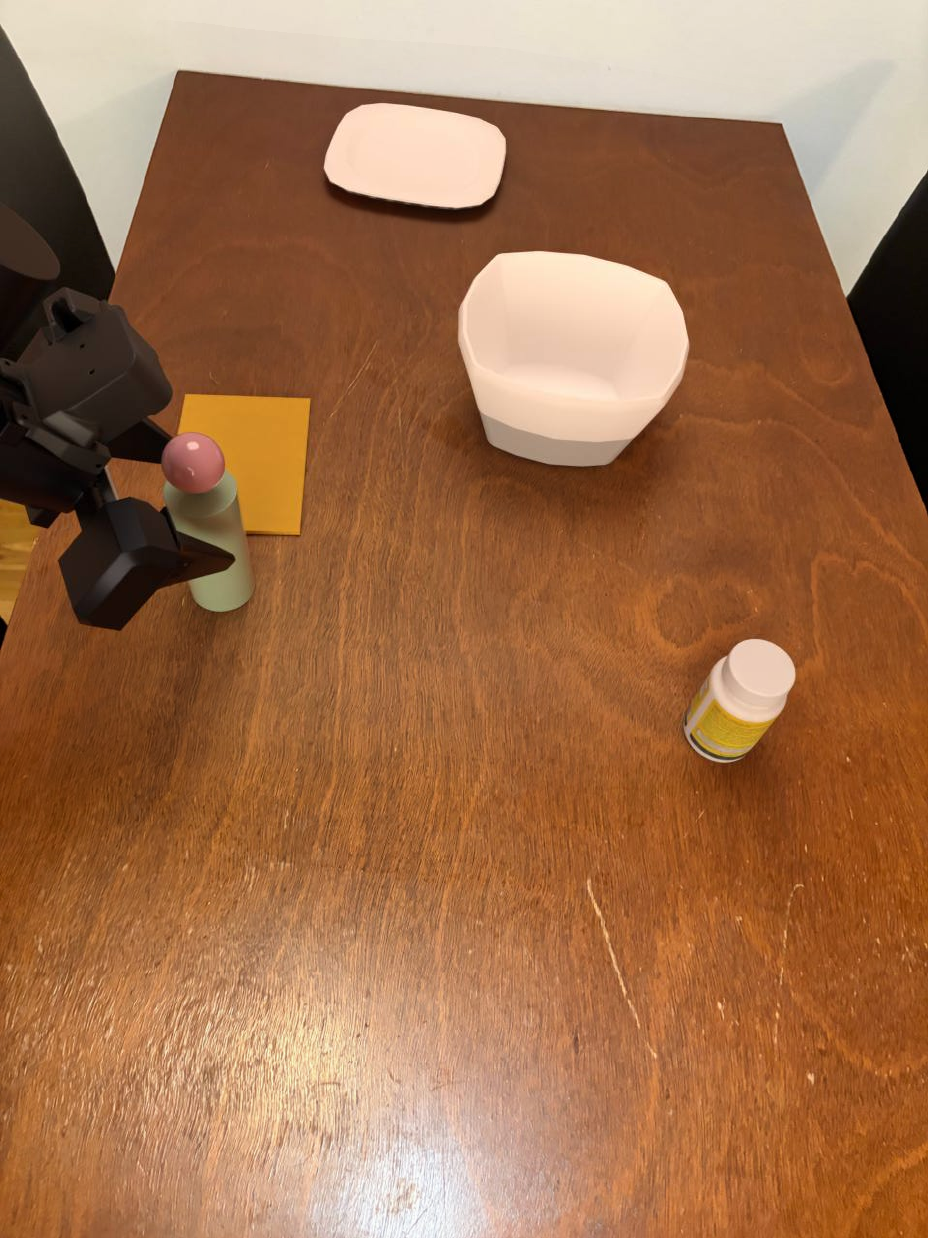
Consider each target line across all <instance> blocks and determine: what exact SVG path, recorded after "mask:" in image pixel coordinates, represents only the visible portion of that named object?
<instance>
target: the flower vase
mask: <svg viewBox="0 0 928 1238" xmlns="http://www.w3.org/2000/svg"><path fill="white" fill-rule="evenodd" d="M160 465H161V466H160V467H161V470H162V473H163V476H164V477H165V479H166V481H165V483H164V484H163V487H162V498H163V502H164V503H165V506H166V507H167V508H168V510H169V512H170V515H171V517H172V520H173V522H174V525H175V527H176V530H177V531H179V532H182V533H185V534H187V535H190V536H192V537H195V538H197V539H200V540H202V541H205V542H208V543H210V544H213V545H215V546H218V547H220V548H222V549H224V550H226V551H228V552H230V553H232V554H233V555H234V556H235V559H236V561H235V562H234V563H233V564H232V565H231V566H230V567H229V569H227V570H226V571H222V572H219V573H215V574H211V575H208V576H204V577H200V578H196V579H193V580H189V581H187V584H188V586H189V590H190V593H191V597H192V598H193V600H194V601H195V603H196V604H198V605H199V606H200V607H201V608H203V609H206V610H207V611H211V612H217V613H223V612H230V611H233V610H236V609H238V608H240V607H242V606H243V605H244V604H246V603H247V602H249V600H250V599H251V598H252V597H253V594H254V592H255V590H256V578H255V573H254V568H253V563H252V557H251V552H250V546H249V541H248V536H247V535H248V534H246V530H245V525H244V520H243V514H242V509H241V504H240V498H239V493H238V488H237V483H236V480H235V479H234V477H233V476H232V475H231V474H230V473H229V472H228V471H227V470H226V469H225V465H226V464H225V457H224V454H223V452H222V450H221V448H220V446H219V445H218V444H217V443H216V442H215V441H214V440H213V439H212V438H210V437H208V436H207V435H204V434H202V433H197V432H186V433H182V434H179V435H178V434H177V435H175V436H174V437H173V439H171V440H170V441H169V442H168V444H167V445H166V446H165V448H164V450H163V453H162V458H161V464H160Z"/></svg>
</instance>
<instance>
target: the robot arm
mask: <svg viewBox="0 0 928 1238" xmlns="http://www.w3.org/2000/svg"><path fill="white" fill-rule="evenodd" d="M60 274H61V264H60V261H59V259H58V257H57V255H56V254H55V252H54V251H53V249H52V248H51V246H50V245H49V244H48V243H47V241H46V240H45V239H44V238H43V237H42V235H40V233H38V231H36V230H35V228H34V227H33V226H32V225H30V224H29V223H28V222H27V221H26V220H24V219H23V217H21V216H20V215H18V214H17V213H16V212H15V211H13V210H12V209H11V208H9V207H8V206H6V205H5V204H4V203H2V202H1V201H0V500H3V501H7V502H10V503H14V504H17V505H21V506H24V509H25V511H26V512H25V513H26V515H27V518H28V522H29V525H32V526H36V527H38V528H39V527H40V528H43V529H46V530H48V529H50V528H51V526H52V525H53V524H54V523H55V521H56V520H57V519H58V518H59V516H60V515H61V514H66V515H67V514H70V513H72V512H75V514H76V515H75V516H76V518H77V521H78V523H79V527H80V530H81V531H80V532H79V533H78V535H77V536H76V537H75V538H74V539H73V541H72V542H71V543H70V545H68V547H67V548H66V549H65V550H64V552H63V553H62V554H61V556H60V557H59V558H58V559H57V563H58V566H59V570H60V573H61V576H62V579H63V582H64V585H65V589H66V592H67V596H68V598H69V602H70V606H71V609H72V611H73V613H74V615H75V617H76V620H77V622H78V623H79V625H83V626H89V627H94V628H98V629H99V628H100V629H106V630H109V631H116V632H121V631H122V630H123V629H124V628H125V627H126V626H127V625H128V623H129V622H130V621H131V620H132V619H133V618H134V617H135V615H136V614H137V613H139V611H140V610H141V609H142V608H143V607H144V606H145V605H146V603H148V601H149V600H150V599H151V598H152V596H154V595H155V594H156V592H157V591H159V590H161V589H164V588H167V587H171V586H174V585H177V584H182V583H186V582H188V581H189V580H193V579H196V578H200V577H204V576H208V575H211V574H215V573H219V572H222V571H226V570H227V569H229V567H230V566H231V565H232V564H233V563H234V562H235V561H236V559H235V556H234V555H233V554H232V553H230V552H228V551H226V550H224V549H222V548H220V547H218V546H215V545H213V544H210V543H208V542H205V541H202V540H200V539H197V538H195V537H192V536H190V535H187V534H185V533H182V532H179V531H177V530H176V527H175V525H174V522H173V520H172V517H171V515H170V512H169V510H168V508H167V507H166V506H164V505H163V506H162V508H161V509H160V510H158V509H157V508H155V506H153V505H152V504H151V503H150V502H149V501H146V500H143V499H139V498H136V497H134V496H127V497H123V498H120V495H119V491H118V489H117V487H116V484H115V481H114V479H113V475H112V473H111V469H110V467H109V465H108V464H109V462H110V461H111V460H112V459H118V460H119V459H120V460H124V461H125V460H126V461H134V462H141V463H147V464H154V465H161V458H162V453H163V450H164V448H165V446H166V445H167V444H168V442H169V441H170V440H171V439H173V438H174V437H173V436H172V435H171V434H170V433H169V432H167V431H166V430H164V428H162V427H161V426H160V425H158V424H157V423H156V422H155V421H153V420H152V419H151V418H150V417H149V416H156V415H158V414H159V413H161V412H163V410H165V409H166V408H167V407H168V406H169V404H171V401H172V399H173V395H174V391H173V390H174V389H173V387H172V384H171V382H170V381H169V379H168V377H167V376H166V374H165V372H164V369H163V366H162V365H161V363H160V360H159V355H158V353H157V352H156V350H155V349H154V348H153V347H152V346H151V344H149V343H148V342H147V340H145V338H144V337H143V336H142V335H141V334H140V333H139V332H138V331H137V330H136V329H135V327H133V326H132V324H131V323H130V320H129V318H128V316H127V315H126V312H125V310H124V308H123V307H122V306H121V305H119V304H112V305H111V304H110V303H109V302H108V301H107V300H106V299H105V298H104V299H102V300H101V301H100V300H98V299H97V298H95V297H93V296H90V295H88V294H85V293H83V292H79V291H77V290H75V289H72V288H69V287H66V286H63V287H61V288H60V289H58V290H57V291H55V292H54V293H52V294H50V295H49V296H48V297H46V298H45V299H44V300H43V298H44V297H45V295H46V294H47V293H48V291H49V290H50V288H51V287H52V285H53V284H54V283H55V281H56V280H57V278H58V277H59V275H60ZM42 300H43V301H42ZM41 301H42V305H43V308H44V312H45V314H46V318H47V321H48V325H45V326H41V327H40V328H39V330H38V331H37V332H36V334H35V335H34V337H33V338H32V339H31V341H30V342H29V344H28V345H27V346H26V348H25V349H24V351H23V352H22V354H21V355H20V357H19V358H18V359H17V360H16V362H15V361H13V360H10V359H8V358H5V357H3V356H4V355H5V353H6V352H7V350H8V349H9V347H10V346H11V345H12V343H13V341H14V340H15V339H16V337H17V335H19V333H20V331H21V330H22V328H24V326H25V324H26V323H27V321H28V320H29V318H30V317H31V316H32V314H33V313H34V311H35V310H36V308H37V307H38V306H39V304H40V302H41Z"/></svg>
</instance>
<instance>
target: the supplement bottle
mask: <svg viewBox="0 0 928 1238" xmlns="http://www.w3.org/2000/svg"><path fill="white" fill-rule="evenodd" d="M795 681H796V668H795V665H794V662H793V660H792V659H791V657H790V656H789V654H788V653H787V652H786V651H785V650H784V649H782V647H780V646H779V645H777V644H775V643H773V642H771V641H769V640H765V639H759V638H749V639H746V640H742V641H740V642H739V643H737V644H736V645H735V646H733V648H731V650H730V652H729V653H728V655H725V656H724V657H722V658H721V659H719V660H718V661H717V662H716V663H715V664H714V665H713V667H712V668H711V670H710V672H709V673H708V675H707V676H706V678H705V680H704V682H703V683H702V685H701V687H700V688H699V690H698V691H697V693H696V695H695V696H694V698H693V700H692V701H691V703H690V704H689V706H688V708H687V709H686V712H685V714H684V716H683V721H682V722H683V724H682V725H683V732H684V736H685V737H686V739H687V742H688V743H689V744H690V746H691V747H692V748H693V750H695V752H697V753H698V754H699V755H700V756H702V757H704V758H705V759H707V760H710V761H713V762H716V763H722V764H723V763H724V764H725V763H732V762H733V763H734V762H737V761H739V760H741V759H743V758H744V757H746V756H747V755H748V754H749V753H750V752H751V751H752V749H753V748H754V746H756V744H757V743H758V742H759V740H760V739H761V738H762V737H763V735H764V734H765V733H766V731H767V730H768V729H769V728H770V726H772V724H773V722H774V721H775V720H776V719H777V718H778V717H779V715H780V714H781V713H782V711H783V710H784V708H785V705H786V703H787V699H788V694H789V692H790V691H791V689H792V687H793V686H794V684H795Z"/></svg>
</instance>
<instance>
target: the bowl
mask: <svg viewBox="0 0 928 1238" xmlns="http://www.w3.org/2000/svg"><path fill="white" fill-rule="evenodd" d="M457 312H458V313H457V343H458V347H459V350H460V353H461V356H462V359H463V363H464V366H465V369H466V373H467V376H468V379H469V381H470V384H471V388H472V392H473V395H474V399H475V403H476V407H477V409H478V411H479V415H480V417H481V421H482V425H483V429H484V432H485V436H486V440H487V441H488V443H489V444H490V445H491V446H493V447H494V448H497V449H500V450H502V451H504V452H507V453H508V454H512V455H514V456H516V457H520V458H524V459H528V460H531V461H535V462H539V463H543V464H546V465H555V466H569V467H592V466H593V467H594V466H595V467H596V466H606V465H609V464H611V463H612V462H613V461H614V460H615V459H616V458H617V457H618V456H619V455H620V454H621V453H622V452H623V451H624V450H625V449H626V447H627V446H628V445H630V443H631V442H632V441H633V440H634V439H635V438H636V437H637V436H638V435H639V434H640V433H641V432H642V431H643V430H644V429H645V428H646V427H647V426H648V424H649V423H650V422H651V421H652V420H653V419H654V418H655V417H656V416H657V415H658V414H659V413H660V412H661V410H663V408H664V407H665V406H666V405H667V403H668V402H669V400H670V399H671V397H672V396H673V395H674V393H675V391H676V389H677V388H678V386H679V385H680V384H681V382H682V381H683V377H684V373H685V370H686V365H687V361H688V356H689V352H690V340H689V336H688V330H687V326H686V320H685V315H684V312H683V309H682V308H681V306H680V304H679V302H678V300H677V298H676V297H675V294H674V293H673V291H672V289H671V287H670V285H669V284H668V282H666V281H665V280H663V279H661V278H659V277H656V276H654V275H651V274H649V273H646V272H643V271H642V270H638V269H637V268H635V267H632V266H630V265H626V264H622V263H619V262H613V261H610V260H606V259H602V258H598V257H594V256H590V255H586V254H577V253H567V252H556V251H541V250H535V251H533V250H532V251H522V252H521V251H520V252H519V251H518V252H507V253H506V252H505V253H498V254H497V255H495V256H494V257H493V259H491V260H490V262H488V263H487V265H485V267H484V268H483V269H482V270H481V271H480V272H479V273H478V274H477V275H476V276H475V277H474V278H473V279H472V282H471V284H470V285H469V288H468V290H467V292H466V294H465V296H464V298H463V300H462V302H461V304H460V306H459V308H458V310H457Z"/></svg>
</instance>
